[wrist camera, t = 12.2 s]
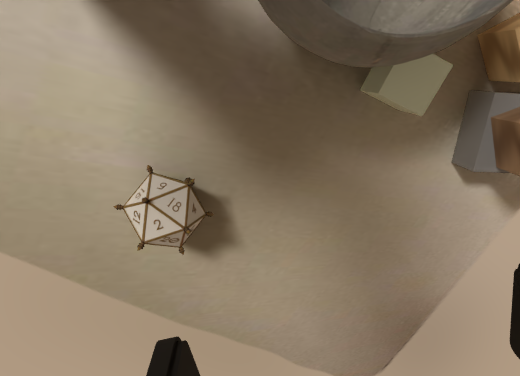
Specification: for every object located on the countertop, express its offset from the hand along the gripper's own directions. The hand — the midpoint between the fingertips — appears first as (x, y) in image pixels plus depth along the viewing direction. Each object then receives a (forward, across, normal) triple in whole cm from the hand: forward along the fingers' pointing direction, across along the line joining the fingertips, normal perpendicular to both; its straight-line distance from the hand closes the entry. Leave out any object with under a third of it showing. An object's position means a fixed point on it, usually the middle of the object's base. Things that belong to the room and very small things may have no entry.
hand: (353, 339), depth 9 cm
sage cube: (+28, -14, -4) cm, 32 cm away
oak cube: (+28, -26, -4) cm, 39 cm away
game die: (+28, +12, +4) cm, 31 cm away
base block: (+29, -25, +4) cm, 38 cm away
